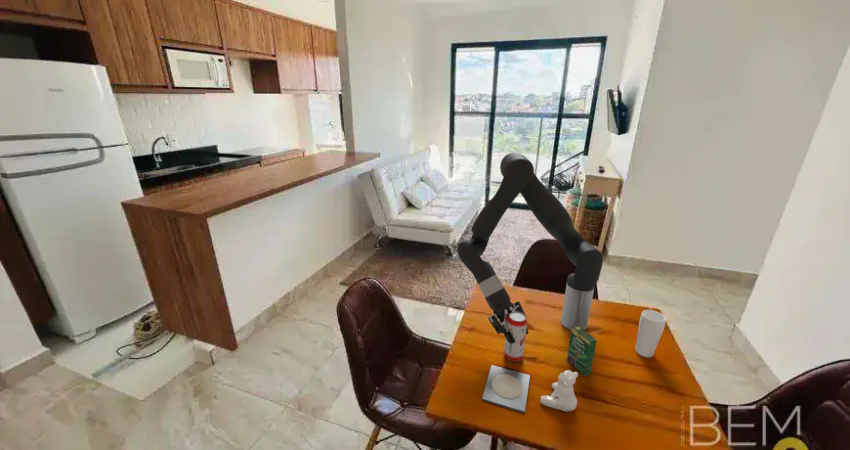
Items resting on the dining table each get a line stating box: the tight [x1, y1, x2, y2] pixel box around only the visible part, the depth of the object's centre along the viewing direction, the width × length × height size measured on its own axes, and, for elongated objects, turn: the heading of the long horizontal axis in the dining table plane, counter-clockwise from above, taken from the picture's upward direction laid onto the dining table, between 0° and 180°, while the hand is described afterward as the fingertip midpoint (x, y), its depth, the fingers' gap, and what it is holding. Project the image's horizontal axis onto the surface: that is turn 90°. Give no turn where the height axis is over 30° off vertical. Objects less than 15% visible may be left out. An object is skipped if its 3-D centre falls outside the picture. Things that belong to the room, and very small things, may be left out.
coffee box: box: [566, 326, 597, 377], centre depth 106 cm, size 8×3×13 cm, turn 19°
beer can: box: [503, 312, 528, 362], centre depth 110 cm, size 6×6×16 cm
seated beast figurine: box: [539, 369, 579, 412], centre depth 93 cm, size 10×9×12 cm
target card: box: [481, 364, 531, 414], centre depth 100 cm, size 14×12×1 cm
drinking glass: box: [634, 309, 667, 358], centre depth 111 cm, size 7×7×15 cm
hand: (519, 338), depth 108 cm, fingers closed on beer can, 6 cm apart
